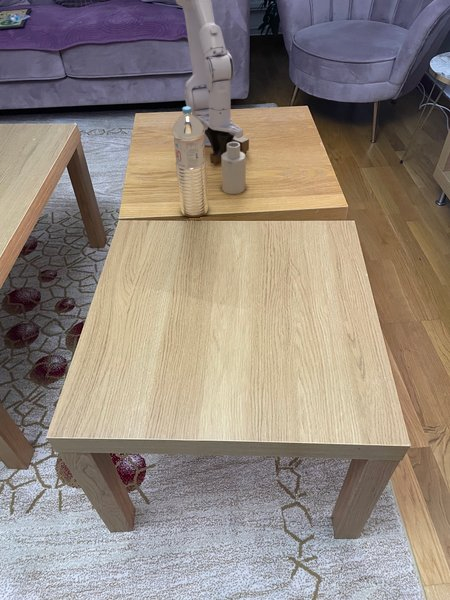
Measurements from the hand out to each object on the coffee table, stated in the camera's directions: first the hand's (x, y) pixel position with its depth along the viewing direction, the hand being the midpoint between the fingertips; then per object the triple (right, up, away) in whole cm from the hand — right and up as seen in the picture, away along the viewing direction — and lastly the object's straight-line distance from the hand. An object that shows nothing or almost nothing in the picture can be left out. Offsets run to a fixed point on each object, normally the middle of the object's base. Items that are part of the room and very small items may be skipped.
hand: (220, 155), depth 127 cm
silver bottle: (+3, -12, -9) cm, 15 cm away
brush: (+2, +1, +3) cm, 3 cm away
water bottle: (-6, -19, -16) cm, 26 cm away
